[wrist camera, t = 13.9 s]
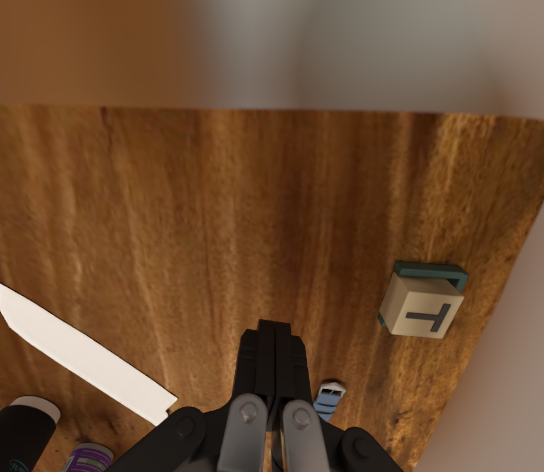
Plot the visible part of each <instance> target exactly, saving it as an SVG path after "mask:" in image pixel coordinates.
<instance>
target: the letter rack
mask: <svg viewBox="0 0 544 472" xmlns="http://www.w3.org/2000/svg"><path fill="white" fill-rule="evenodd" d="M394 269H395V270H396V271H397V273H398V274H399V275H406V276H421V277H436V278H449V280H448V282H449V283H450V284H451V285H452V286H454V287H455V288H456V289H457V290H458V291H459V292H460V293H461V291H462V289H463V287H464V285H465V283H466V281H467V279H468V277H469V274H468V273H467V272H465V271H464V270H463V269H462V268H458V267H457V266H454V265H439V264H424V263H410V262H396V263H395V266H394ZM378 319H379V321H380V323H381V325H382V326H387V325H386V323H385V321H384V319H383V317H382V315H381V314H380V313H379V316H378Z"/></svg>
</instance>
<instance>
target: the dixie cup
mask: <svg viewBox="0 0 544 472" xmlns="http://www.w3.org/2000/svg"><path fill="white" fill-rule="evenodd" d="M59 418H60V411H59V409H58V408H57V407H56V406H55V405H54V404H52V403H51V402H49V401H47V400H45V399H42V398H39V397H33V396H23V397H19V398H17V399H16V400H15V401H14V402H12V403H11V404H10V405H9V406H7V407H5V408H3V409H2V410H1V411H0V472H32V470H33V468H34V467H35V465H36V463H37V461H38V459H39V458H40V456H41V454H42V452H43V451H44V449H45V447H46V445H47V444H48V442H49V440H50V438H51V437H52V435H53V433H54V431H55V429H56V424H57V422H58V420H59Z"/></svg>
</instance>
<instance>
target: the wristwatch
mask: <svg viewBox="0 0 544 472" xmlns="http://www.w3.org/2000/svg"><path fill="white" fill-rule="evenodd" d="M323 388H325V389H332V392H333V391H334V390H338V391H342V392H341V394H334V393H332V392H330V393H327V392H321V391H322V389H323ZM345 391H346V390H345V388H344V387H342V386H341V385H339V384H338V383H336V382H333V383H327V384H321V387H320V390H319V394H318V397H317V399H316V400H315V401H314V403H313V406H314V408H315V410H316V411H317V413H318V414H319V416H320V417H321V418H322V419H324V420H325V421H326V422H328V420H329V418H331V417H332V415H333V413H334V410H335V409H336V407H337V405H338V404H337V403H338V401H339V399H340V397H341V398H342V396H343V394H344V393H345Z"/></svg>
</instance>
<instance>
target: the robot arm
mask: <svg viewBox="0 0 544 472" xmlns="http://www.w3.org/2000/svg"><path fill="white" fill-rule="evenodd" d="M266 431H268V432H272V444H271V447H270V450H269V469H270V472H404V471H403V470H402V469H401V468H400V467H399V466H398V465H397V464H396V462H395V461H394V460H393V459H392V458H391V457H390V456H389V455H388V453H387V452H386V451H385V450H384V449H383V448H382V447H381V446H380V444H379V443H378V442H377V441H376V440H375V439H374V438H373V437H372V436H371V435H370V434H369V433H368V432H367V431H365V430H364V429H362V428H359V427H350V428H348V429H347V430H346V431H344V430H342V429H340V428H338V427H336V426H334V425H332V424H330V423H328V422H326V421H325V420H324V419H322V418H321V417H320V416H319V414H318V413H317V411H316V410H315V408H314V406H313V403H312V397H311V389H310V381H309V374H308V367H307V359H306V350H305V345H304V343H303V342H302V340H301V338H300V336H293V335H291V326H290V323H284V322H277V321H275V322H274V321H270V320H263V319H259V321H258V325H257V329H256V330H251V329H246V331H245V332H244V334H243V335H242V337H241V340H240V345H239V351H238V356H237V362H236V369H235V376H234V383H233V389H232V396H231V398H230V400H229V401H228V403H226V404H225V405H224V406H223V407H221V408H219V409H217V410H214V411H209V412H205V413H202V412H201V411H200V410H199V409H197V408H195V407H182V408H180V409H178V410H176V411H174V412H173V413H172V414H171V415H170V416H168V417H167V418H166V419H165V420H164V421H162V422H161V423H160V424H159V425H158V426H156V427H155V428H154V429H153V430H152V431H151V432H149V433H148V434H147V435H146V436H145V437H143V438H142V439H141V440H140V441H139V442H138V443H136V444H135V445H134V446H133V447H132V448H130V449H129V450H128V451H127V452H126V453H125V454H123V455H122V456H121V457H120V458H119V459H117V460H116V461H115V462H114V463H113V464H112V465H110V466H109V467H108V468H107V469H106V470H104V471H103V472H263V461H264V450H265V439H266Z"/></svg>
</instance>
